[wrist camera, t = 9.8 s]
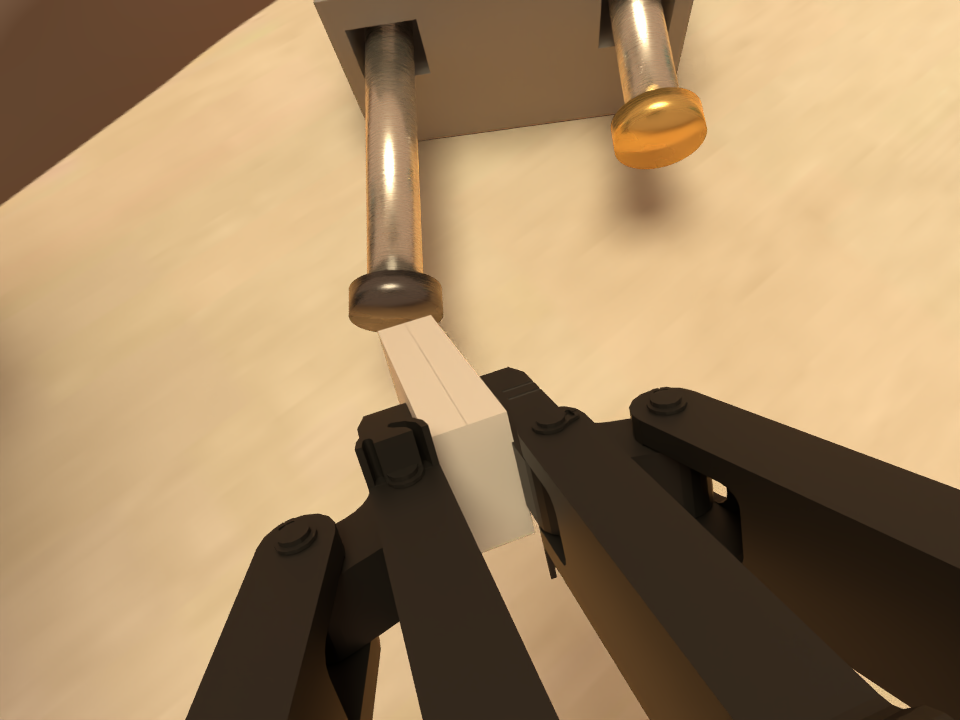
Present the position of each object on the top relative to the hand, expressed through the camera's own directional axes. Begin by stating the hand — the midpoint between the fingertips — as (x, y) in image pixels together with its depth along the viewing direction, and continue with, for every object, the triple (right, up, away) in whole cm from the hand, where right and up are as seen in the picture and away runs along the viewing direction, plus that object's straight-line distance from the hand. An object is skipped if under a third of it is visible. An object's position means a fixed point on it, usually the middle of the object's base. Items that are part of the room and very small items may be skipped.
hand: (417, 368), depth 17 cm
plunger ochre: (+11, +20, +21) cm, 31 cm away
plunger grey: (-3, +11, +19) cm, 23 cm away
